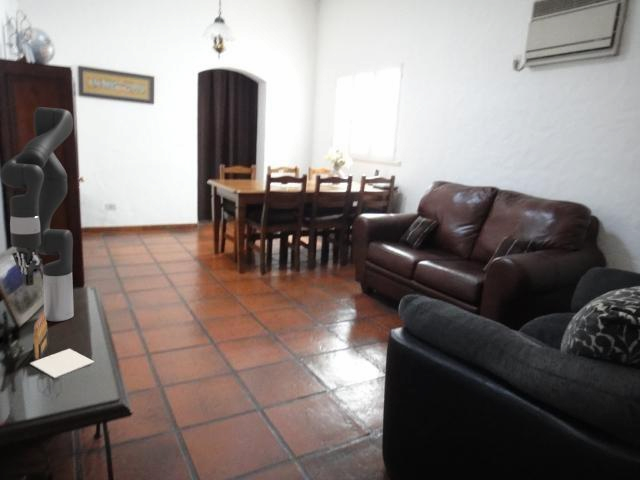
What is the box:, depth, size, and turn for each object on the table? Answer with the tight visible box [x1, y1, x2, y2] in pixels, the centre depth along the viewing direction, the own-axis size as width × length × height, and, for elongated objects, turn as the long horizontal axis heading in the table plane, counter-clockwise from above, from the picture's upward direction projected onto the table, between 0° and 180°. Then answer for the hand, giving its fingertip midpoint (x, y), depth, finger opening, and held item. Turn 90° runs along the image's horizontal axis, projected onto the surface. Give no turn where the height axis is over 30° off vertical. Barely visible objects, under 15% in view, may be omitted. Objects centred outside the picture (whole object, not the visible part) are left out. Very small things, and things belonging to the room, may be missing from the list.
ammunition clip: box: [32, 310, 50, 361], centre depth 138 cm, size 11×2×12 cm, turn 19°
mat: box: [29, 348, 95, 379], centre depth 134 cm, size 13×12×1 cm
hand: (28, 284), depth 137 cm, fingers closed
